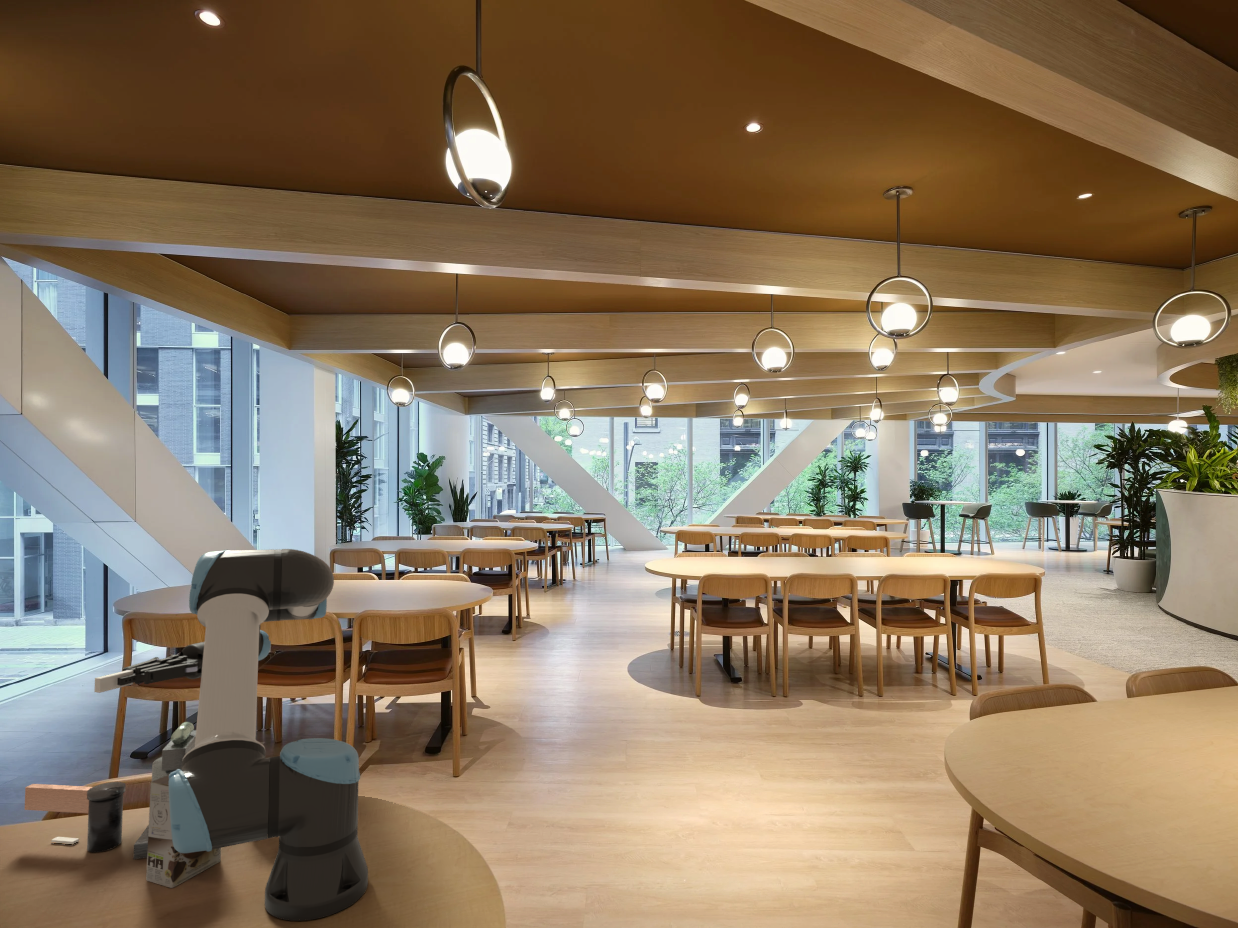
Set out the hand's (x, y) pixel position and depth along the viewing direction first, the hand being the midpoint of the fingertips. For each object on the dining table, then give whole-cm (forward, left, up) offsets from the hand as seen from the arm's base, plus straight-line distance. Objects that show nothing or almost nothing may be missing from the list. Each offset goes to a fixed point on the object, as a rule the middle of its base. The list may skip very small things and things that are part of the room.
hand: (97, 685), depth 136 cm
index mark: (-9, +1, -26) cm, 27 cm away
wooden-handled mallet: (-10, 0, -26) cm, 27 cm away
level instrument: (-13, -18, -26) cm, 34 cm away
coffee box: (-25, -22, -26) cm, 42 cm away
